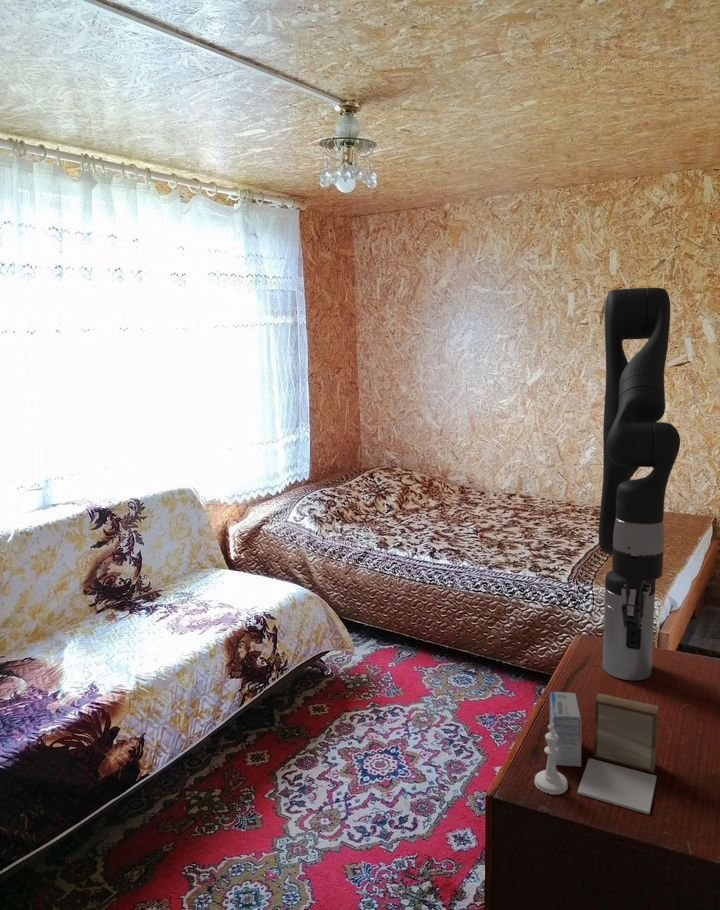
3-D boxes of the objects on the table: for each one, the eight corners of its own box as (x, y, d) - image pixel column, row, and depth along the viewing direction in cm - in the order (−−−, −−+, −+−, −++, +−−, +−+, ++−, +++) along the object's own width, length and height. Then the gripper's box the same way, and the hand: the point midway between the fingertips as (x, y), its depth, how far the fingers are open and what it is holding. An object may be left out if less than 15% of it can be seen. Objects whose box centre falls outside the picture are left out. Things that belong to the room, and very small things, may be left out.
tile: (596, 748, 112) (598, 693, 110) (655, 764, 108) (658, 706, 106) (593, 757, 110) (595, 700, 108) (653, 773, 105) (656, 714, 104)
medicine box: (581, 768, 107) (582, 718, 106) (552, 765, 108) (553, 716, 107) (575, 739, 115) (577, 692, 113) (548, 737, 116) (549, 690, 114)
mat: (589, 760, 109) (589, 758, 109) (656, 778, 104) (656, 775, 104) (577, 793, 101) (577, 791, 101) (649, 814, 96) (649, 812, 96)
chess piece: (545, 797, 101) (546, 736, 99) (528, 777, 105) (529, 718, 104) (574, 790, 102) (576, 730, 100) (556, 771, 107) (557, 712, 105)
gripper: (619, 532, 116) (616, 628, 119) (606, 554, 105) (602, 659, 108) (667, 537, 112) (662, 636, 115) (658, 561, 101) (653, 669, 104)
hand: (633, 647), depth 111 cm, fingers closed
